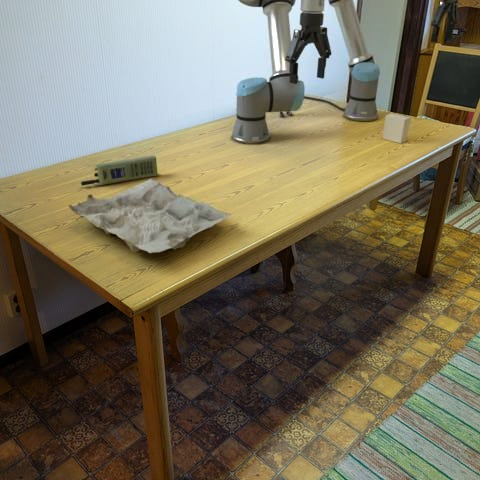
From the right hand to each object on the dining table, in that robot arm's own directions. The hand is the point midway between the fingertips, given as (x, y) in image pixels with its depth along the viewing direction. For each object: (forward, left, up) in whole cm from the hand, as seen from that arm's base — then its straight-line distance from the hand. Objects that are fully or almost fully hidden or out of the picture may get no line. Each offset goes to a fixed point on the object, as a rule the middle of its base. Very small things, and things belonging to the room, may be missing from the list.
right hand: (441, 41), depth 226 cm
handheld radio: (+57, -144, -33) cm, 158 cm away
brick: (+33, -34, -33) cm, 58 cm away
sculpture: (+91, -136, -33) cm, 167 cm away
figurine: (-9, -68, -33) cm, 76 cm away
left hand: (+48, -79, -4) cm, 93 cm away
